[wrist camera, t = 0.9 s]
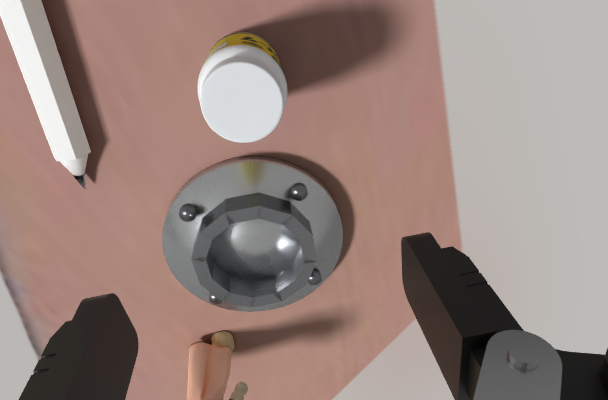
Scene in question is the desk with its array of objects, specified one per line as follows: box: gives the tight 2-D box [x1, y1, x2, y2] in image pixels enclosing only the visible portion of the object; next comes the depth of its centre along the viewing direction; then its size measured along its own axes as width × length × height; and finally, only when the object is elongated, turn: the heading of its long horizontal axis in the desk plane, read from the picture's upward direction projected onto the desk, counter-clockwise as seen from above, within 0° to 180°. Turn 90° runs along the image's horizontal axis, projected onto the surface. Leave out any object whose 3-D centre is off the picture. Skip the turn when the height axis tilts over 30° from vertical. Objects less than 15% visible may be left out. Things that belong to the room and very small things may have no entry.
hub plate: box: [162, 156, 343, 312], centre depth 32 cm, size 14×14×3 cm
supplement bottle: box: [198, 32, 288, 143], centre depth 23 cm, size 5×5×8 cm
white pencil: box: [0, 0, 91, 189], centre depth 25 cm, size 3×2×16 cm
